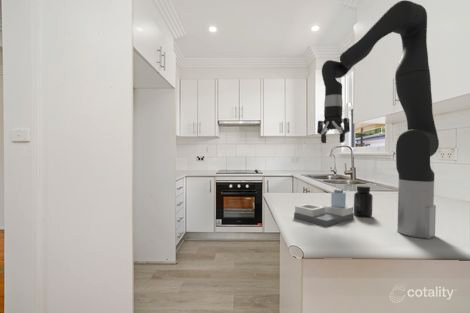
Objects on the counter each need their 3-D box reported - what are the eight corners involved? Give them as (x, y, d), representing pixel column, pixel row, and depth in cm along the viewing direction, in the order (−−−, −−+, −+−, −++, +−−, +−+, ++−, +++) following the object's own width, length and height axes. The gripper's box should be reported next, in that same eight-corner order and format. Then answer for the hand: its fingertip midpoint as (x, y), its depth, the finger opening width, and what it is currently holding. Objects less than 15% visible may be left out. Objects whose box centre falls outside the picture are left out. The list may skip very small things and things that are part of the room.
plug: (345, 212, 98) (345, 190, 98) (340, 214, 96) (340, 191, 96) (336, 211, 101) (336, 188, 101) (331, 212, 99) (331, 189, 99)
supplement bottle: (375, 217, 99) (376, 187, 99) (358, 217, 99) (359, 187, 99) (366, 213, 106) (367, 185, 106) (350, 213, 106) (351, 185, 106)
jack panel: (353, 218, 98) (353, 206, 98) (326, 226, 86) (326, 213, 86) (322, 211, 109) (322, 201, 109) (294, 217, 98) (294, 206, 97)
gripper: (353, 105, 108) (352, 142, 108) (323, 109, 119) (323, 143, 119) (344, 103, 103) (343, 142, 103) (314, 107, 114) (313, 143, 115)
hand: (332, 142), depth 111 cm, fingers open, 8 cm apart
